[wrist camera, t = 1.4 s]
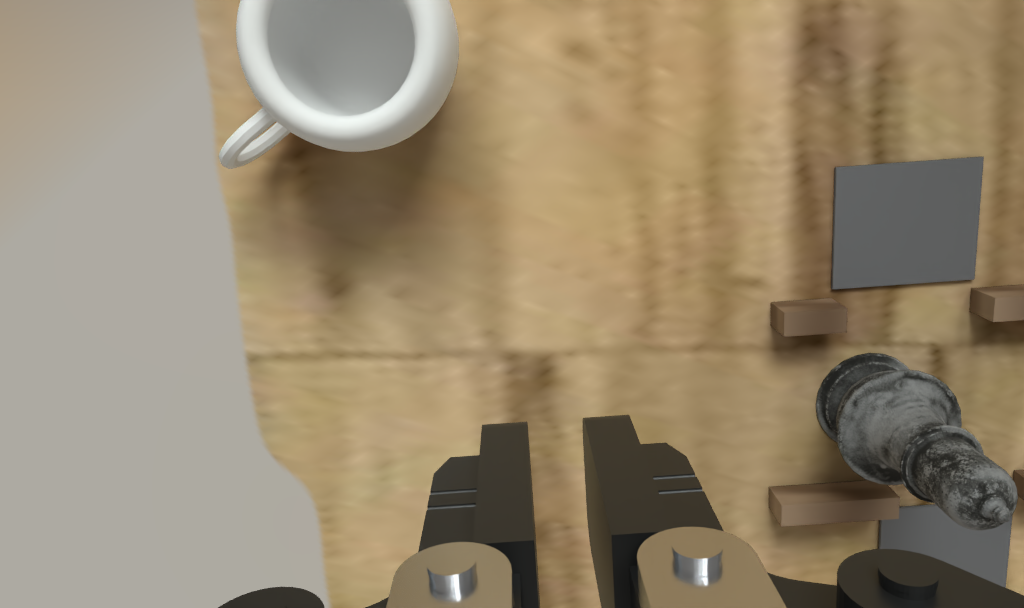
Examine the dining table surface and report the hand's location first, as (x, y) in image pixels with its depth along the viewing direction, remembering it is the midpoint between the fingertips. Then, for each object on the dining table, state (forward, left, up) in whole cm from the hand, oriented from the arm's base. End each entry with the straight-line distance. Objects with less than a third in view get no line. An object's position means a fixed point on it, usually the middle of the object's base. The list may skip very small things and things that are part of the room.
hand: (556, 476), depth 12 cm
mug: (+4, -10, -27) cm, 29 cm away
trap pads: (-14, +18, -27) cm, 35 cm away
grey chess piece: (-11, +17, -27) cm, 34 cm away
